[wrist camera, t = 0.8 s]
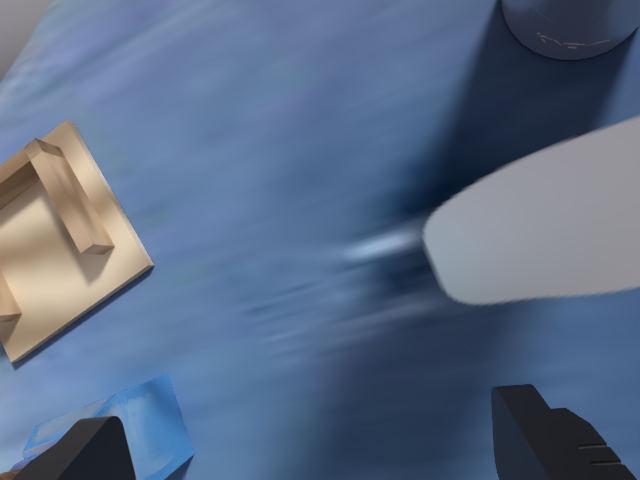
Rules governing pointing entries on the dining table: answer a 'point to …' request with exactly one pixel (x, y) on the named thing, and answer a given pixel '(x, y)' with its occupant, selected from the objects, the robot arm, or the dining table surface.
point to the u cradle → (59, 240)
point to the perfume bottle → (127, 429)
